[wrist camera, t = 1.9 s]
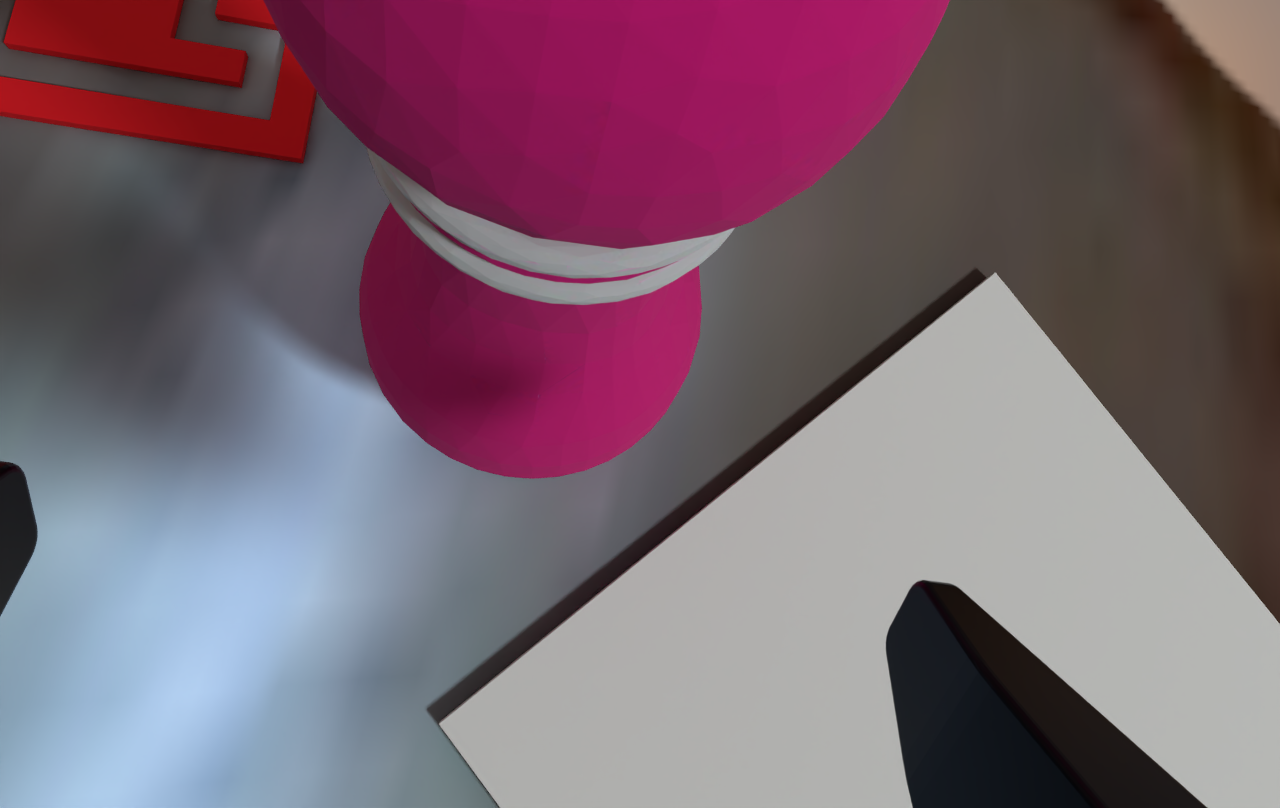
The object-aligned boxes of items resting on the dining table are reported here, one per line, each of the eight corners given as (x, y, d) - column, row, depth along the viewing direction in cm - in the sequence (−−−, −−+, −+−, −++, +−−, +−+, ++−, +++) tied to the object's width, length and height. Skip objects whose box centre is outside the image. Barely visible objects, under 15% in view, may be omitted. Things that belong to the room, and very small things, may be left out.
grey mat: (907, 1358, 19) (916, 1374, 19) (439, 721, 20) (438, 723, 20) (1375, 757, 24) (1389, 760, 24) (987, 277, 25) (995, 272, 25)
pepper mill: (352, 464, 21) (-1132, -836, 2) (423, 207, 23) (78, -1884, 3) (630, 522, 22) (1667, 106, 3) (678, 271, 24) (1521, -1082, 4)
